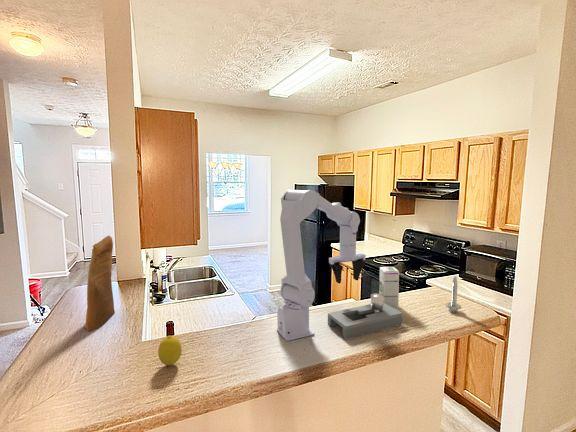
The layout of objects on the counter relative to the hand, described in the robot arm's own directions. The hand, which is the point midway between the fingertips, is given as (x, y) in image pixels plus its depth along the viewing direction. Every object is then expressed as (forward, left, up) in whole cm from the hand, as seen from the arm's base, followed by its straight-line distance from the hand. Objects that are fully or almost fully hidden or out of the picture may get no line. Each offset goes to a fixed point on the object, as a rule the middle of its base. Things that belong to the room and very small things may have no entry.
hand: (347, 281), depth 110 cm
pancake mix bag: (-81, +27, -11) cm, 86 cm away
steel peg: (+3, -13, -10) cm, 17 cm away
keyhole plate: (-2, -13, -10) cm, 17 cm away
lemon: (-61, -10, -11) cm, 63 cm away
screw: (+33, -18, -11) cm, 39 cm away
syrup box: (+15, -5, -11) cm, 19 cm away
